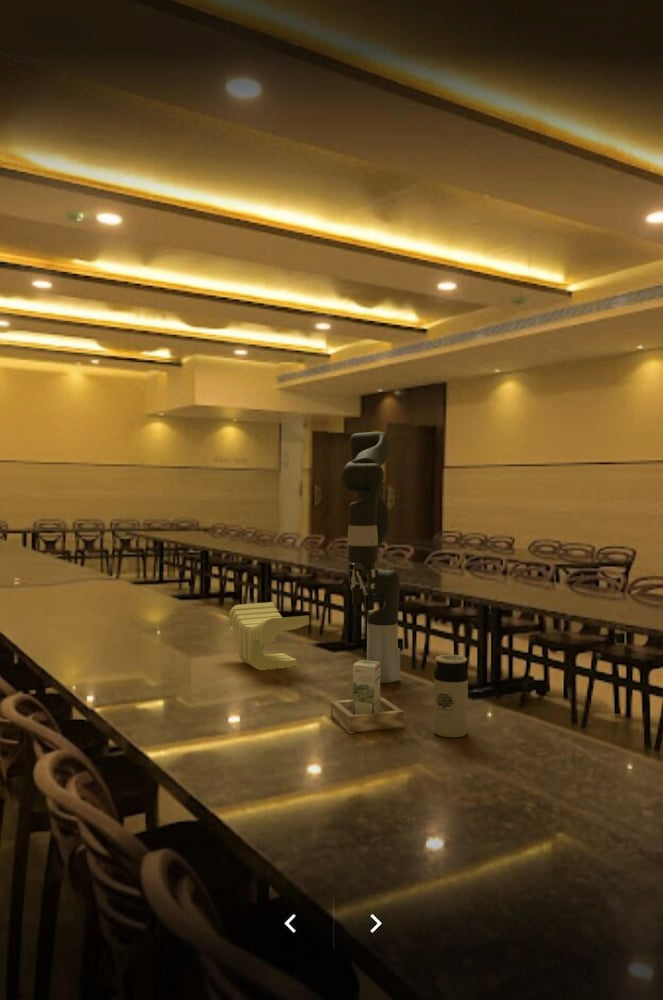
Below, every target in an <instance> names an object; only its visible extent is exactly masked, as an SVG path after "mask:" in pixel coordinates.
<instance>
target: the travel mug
mask: <svg viewBox="0 0 663 1000" xmlns="http://www.w3.org/2000/svg"><path fill="white" fill-rule="evenodd" d="M434 659H435V661H436V666H435V669H434V671H433V733H434V734H435V735H437V736H440V737H443V738H449V739H450V738H451V739H453V738H454V739H457V738H463V737H464V736H466V735H467V734H468V717H469V716H468V714H469V713H468V709H469V707H468V704H469V702H468V699H469V696H468V695H469V694H468V693H469V692H468V691H469V689H468V688H469V686H468V685H469V684H468V683H469V673H468V670H467V668H466V663H467V661H468V659H467V657H466V656H463V655H457V654H441V655H437V656H435V658H434Z"/></svg>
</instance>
